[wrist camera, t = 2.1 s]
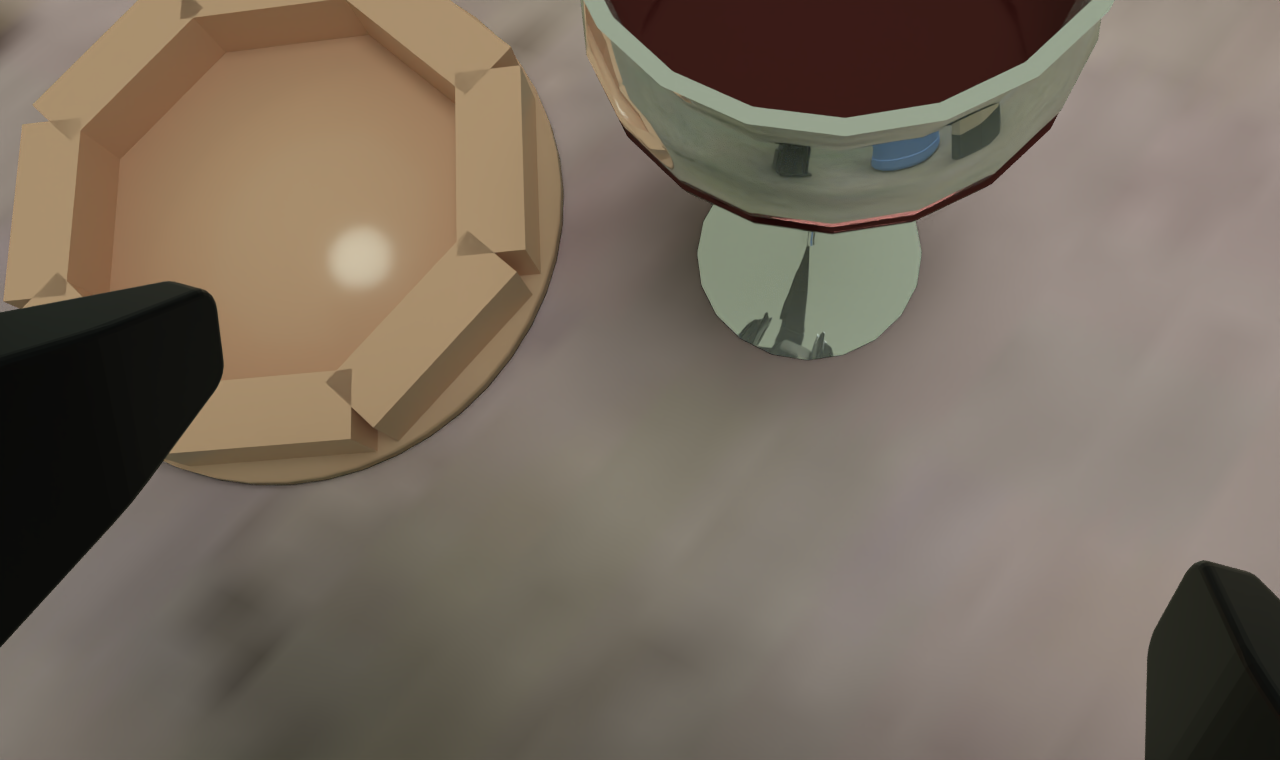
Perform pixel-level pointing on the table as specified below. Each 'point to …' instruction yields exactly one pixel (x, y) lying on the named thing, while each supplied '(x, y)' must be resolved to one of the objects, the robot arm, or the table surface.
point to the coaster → (302, 213)
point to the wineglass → (831, 136)
